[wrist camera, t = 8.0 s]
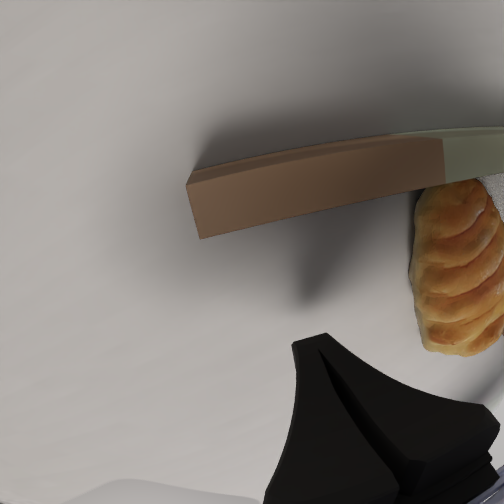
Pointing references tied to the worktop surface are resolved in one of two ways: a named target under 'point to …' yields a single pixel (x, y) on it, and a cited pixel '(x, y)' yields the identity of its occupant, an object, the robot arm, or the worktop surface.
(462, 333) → the pastry
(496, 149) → the two-tone corner bracket
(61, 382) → the worktop surface
